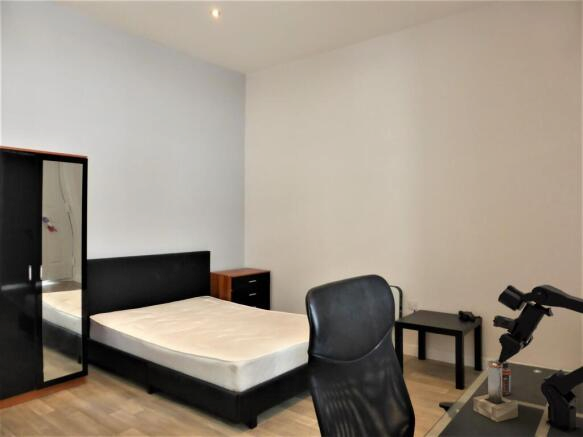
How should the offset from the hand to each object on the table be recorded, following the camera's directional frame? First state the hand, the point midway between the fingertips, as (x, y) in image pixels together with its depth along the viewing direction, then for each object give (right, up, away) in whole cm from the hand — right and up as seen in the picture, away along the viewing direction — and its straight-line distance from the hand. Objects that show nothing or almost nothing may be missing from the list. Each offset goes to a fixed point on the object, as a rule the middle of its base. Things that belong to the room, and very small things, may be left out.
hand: (503, 359), depth 136 cm
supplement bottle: (+6, -17, +14) cm, 23 cm away
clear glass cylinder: (-4, -13, -3) cm, 14 cm away
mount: (-4, -16, -3) cm, 17 cm away
